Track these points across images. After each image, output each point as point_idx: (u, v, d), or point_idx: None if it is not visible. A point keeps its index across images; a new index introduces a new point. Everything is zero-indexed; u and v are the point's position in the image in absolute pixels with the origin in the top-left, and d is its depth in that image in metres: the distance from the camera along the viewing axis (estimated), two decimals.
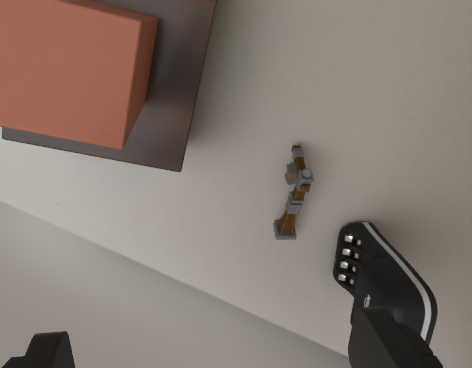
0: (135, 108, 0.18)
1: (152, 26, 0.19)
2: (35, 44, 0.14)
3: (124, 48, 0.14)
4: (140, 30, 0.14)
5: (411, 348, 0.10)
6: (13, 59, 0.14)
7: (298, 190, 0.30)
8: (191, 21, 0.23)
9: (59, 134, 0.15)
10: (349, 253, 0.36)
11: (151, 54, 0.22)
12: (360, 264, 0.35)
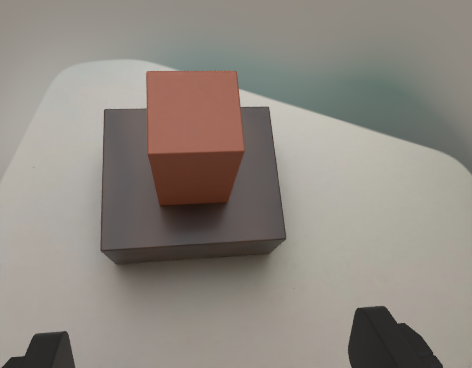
0: (172, 174, 0.23)
1: (228, 185, 0.25)
2: (209, 93, 0.21)
3: (224, 143, 0.21)
4: (238, 152, 0.21)
5: (411, 348, 0.10)
6: (195, 82, 0.22)
7: None
8: (234, 226, 0.28)
9: (150, 111, 0.21)
10: None
11: (203, 198, 0.28)
12: None
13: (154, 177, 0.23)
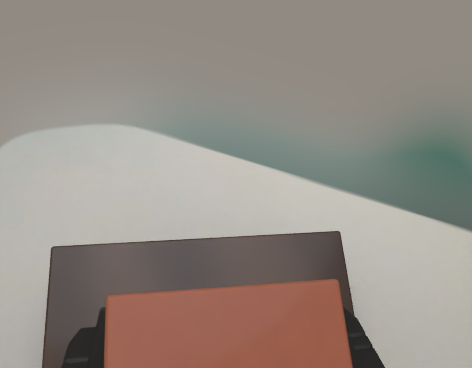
0: None
1: None
2: (274, 358, 0.08)
3: None
4: None
5: None
6: (236, 325, 0.08)
7: None
8: None
9: None
10: None
11: None
12: None
13: None
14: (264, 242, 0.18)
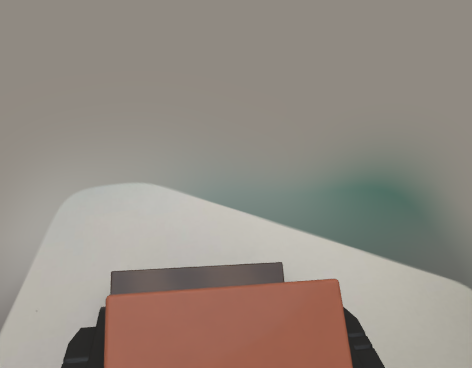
0: None
1: None
2: (274, 358, 0.08)
3: None
4: None
5: None
6: (236, 325, 0.08)
7: None
8: None
9: None
10: None
11: None
12: None
13: None
14: (235, 269, 0.30)
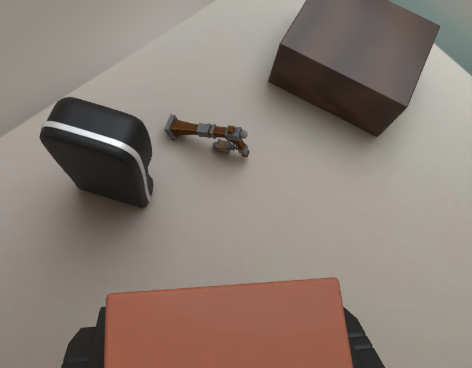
0: None
1: None
2: (274, 356, 0.08)
3: None
4: None
5: None
6: (236, 323, 0.08)
7: (227, 127, 0.35)
8: (374, 79, 0.36)
9: None
10: None
11: None
12: None
13: None
14: (406, 11, 0.40)
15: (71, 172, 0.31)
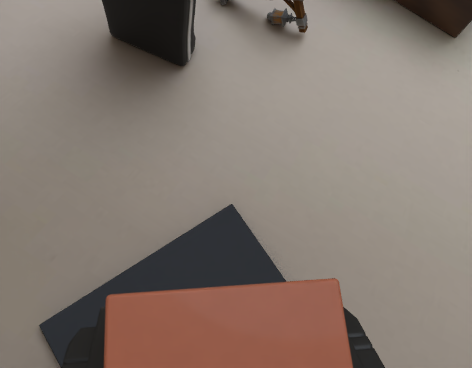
0: None
1: None
2: (274, 358, 0.08)
3: None
4: None
5: None
6: (236, 324, 0.08)
7: None
8: None
9: None
10: None
11: None
12: None
13: None
14: None
15: None
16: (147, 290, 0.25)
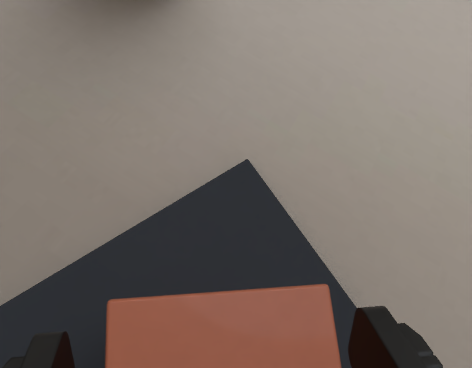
0: None
1: None
2: (267, 360, 0.08)
3: None
4: None
5: (411, 348, 0.10)
6: (231, 328, 0.09)
7: None
8: None
9: None
10: None
11: None
12: None
13: None
14: None
15: None
16: (129, 276, 0.17)
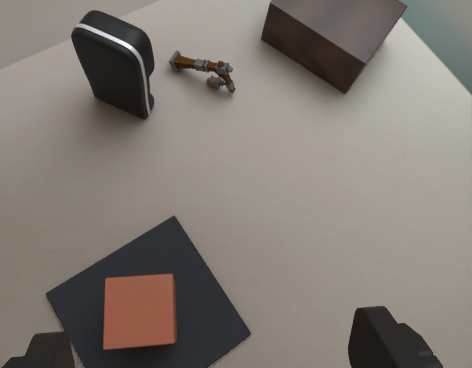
0: None
1: None
2: (150, 295, 0.29)
3: (159, 337, 0.29)
4: (169, 343, 0.29)
5: (411, 348, 0.10)
6: (141, 286, 0.30)
7: (218, 62, 0.44)
8: (342, 39, 0.45)
9: (106, 313, 0.29)
10: None
11: None
12: None
13: None
14: None
15: (91, 76, 0.40)
16: (116, 272, 0.38)
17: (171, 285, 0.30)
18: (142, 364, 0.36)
